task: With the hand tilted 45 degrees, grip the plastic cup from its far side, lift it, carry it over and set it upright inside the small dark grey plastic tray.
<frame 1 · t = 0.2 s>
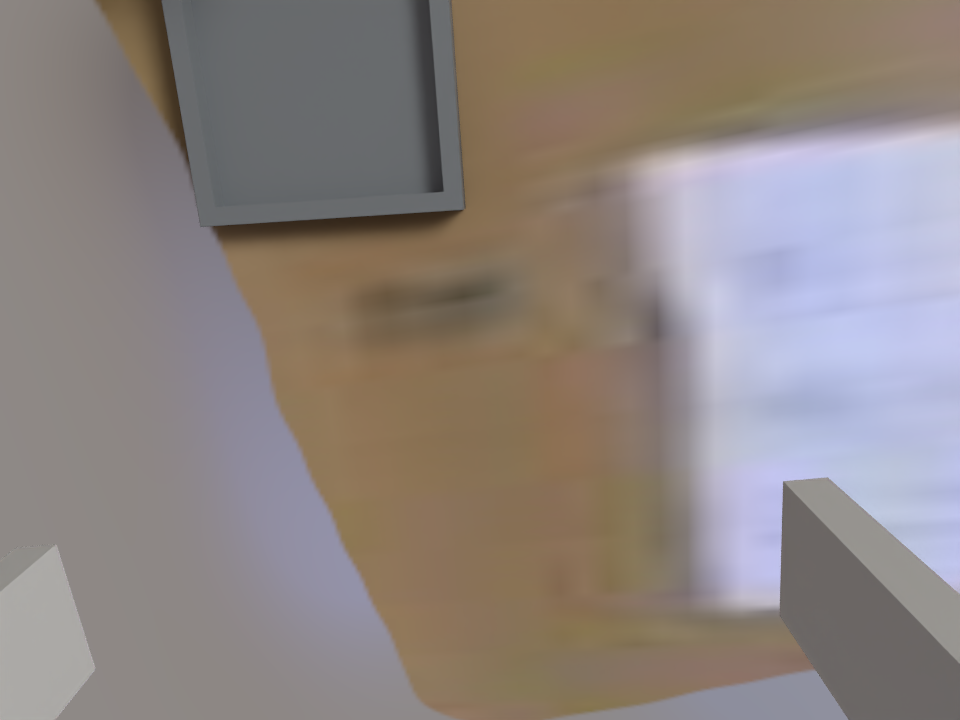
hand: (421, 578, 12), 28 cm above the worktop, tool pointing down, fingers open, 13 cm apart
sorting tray: (323, 80, 35), on the worktop
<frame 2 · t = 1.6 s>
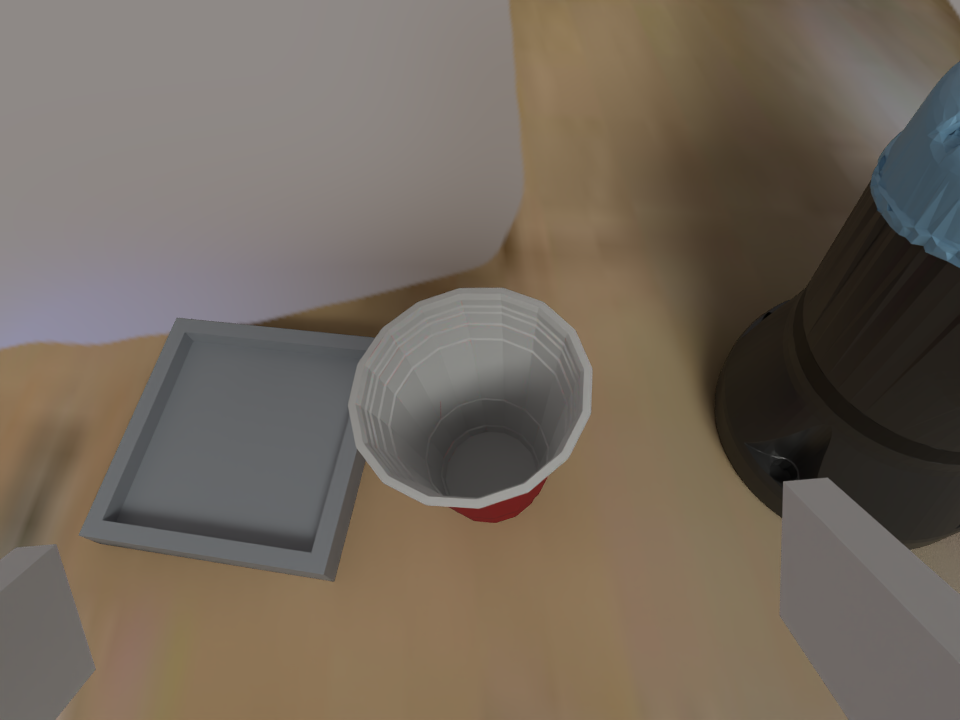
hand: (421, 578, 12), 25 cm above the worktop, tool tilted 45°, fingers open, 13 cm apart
plastic cup: (487, 475, 38), on the worktop
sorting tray: (254, 443, 41), on the worktop
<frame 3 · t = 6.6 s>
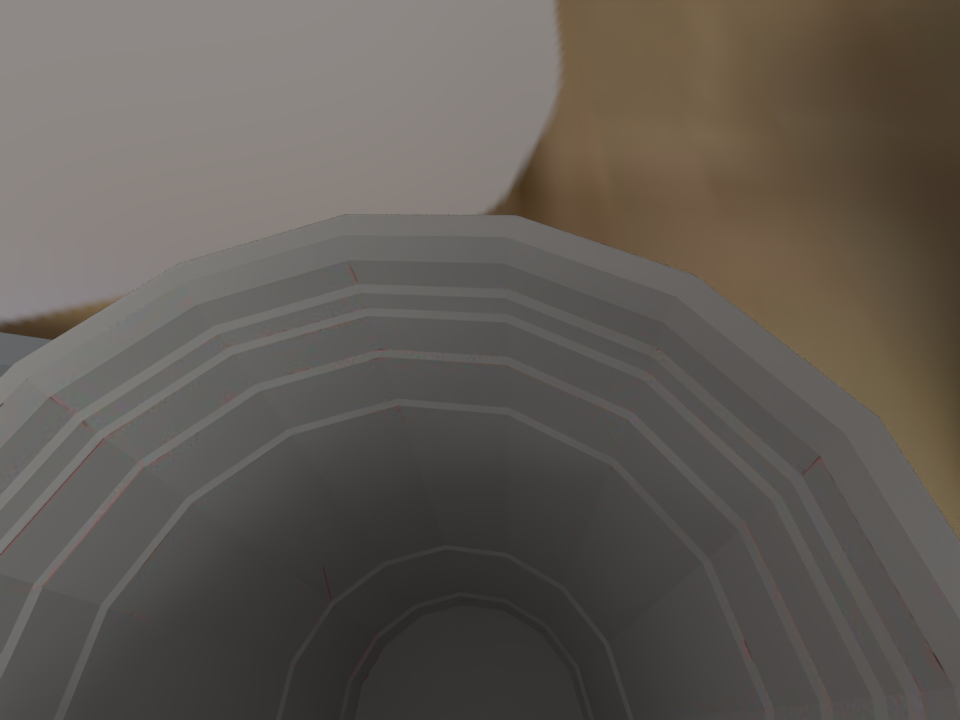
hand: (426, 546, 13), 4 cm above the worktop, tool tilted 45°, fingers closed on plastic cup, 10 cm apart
when the fingers open (7 cm above the worktop, at t = 12.2 s): plastic cup moves 4 cm, resting on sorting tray.
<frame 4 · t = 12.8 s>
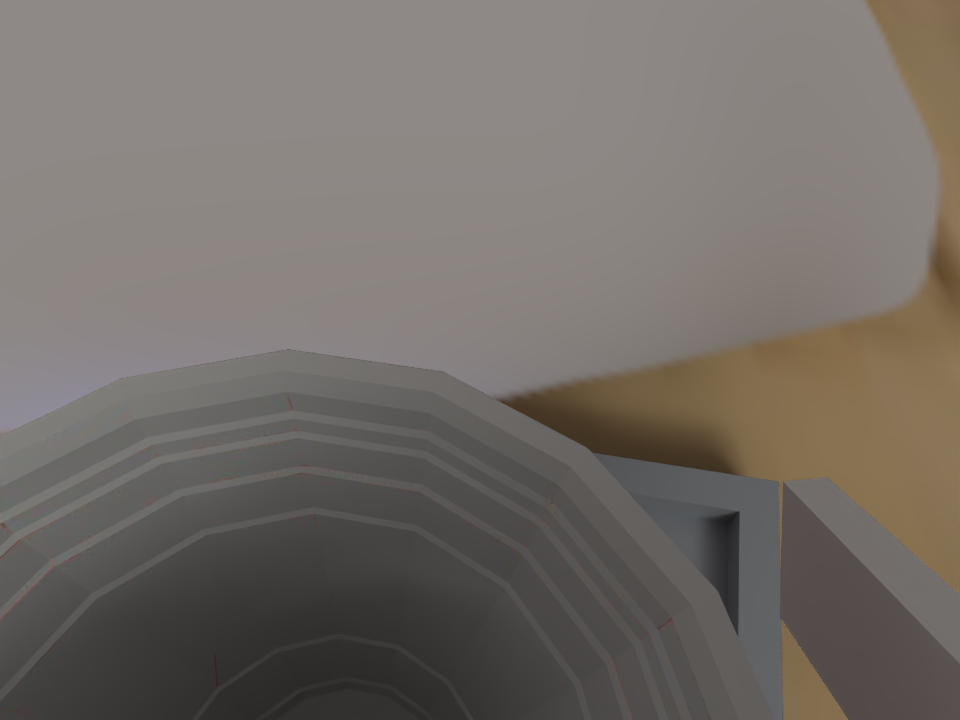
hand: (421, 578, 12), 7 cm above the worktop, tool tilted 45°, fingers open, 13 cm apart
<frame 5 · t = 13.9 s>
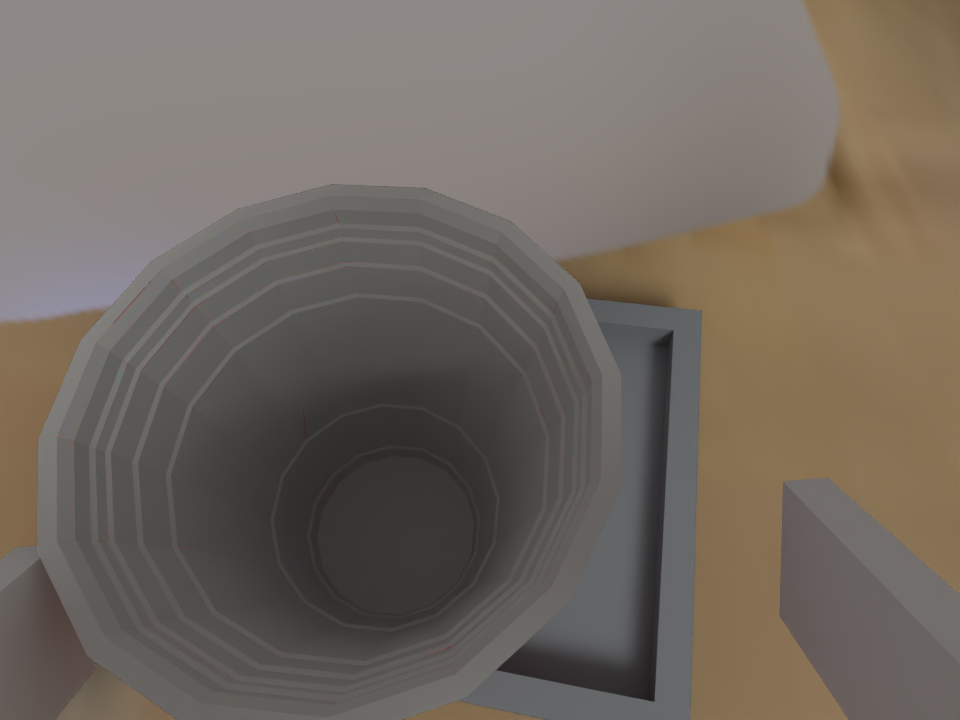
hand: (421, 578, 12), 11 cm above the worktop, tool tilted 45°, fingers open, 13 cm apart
plastic cup: (391, 531, 23), point 1 cm above the worktop, touching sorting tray
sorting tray: (483, 481, 24), on the worktop
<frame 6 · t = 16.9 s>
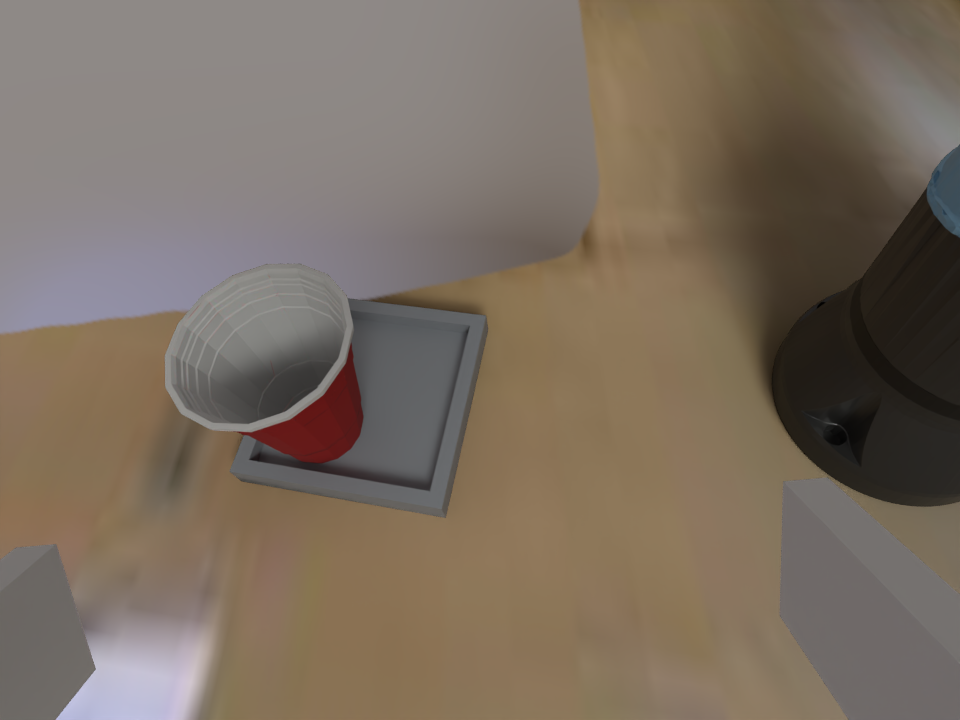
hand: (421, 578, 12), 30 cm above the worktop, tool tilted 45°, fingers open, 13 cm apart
plastic cup: (321, 426, 46), point 1 cm above the worktop, touching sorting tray
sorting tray: (370, 402, 47), on the worktop
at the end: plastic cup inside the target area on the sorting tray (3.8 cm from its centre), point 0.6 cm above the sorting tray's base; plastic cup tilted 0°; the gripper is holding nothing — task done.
